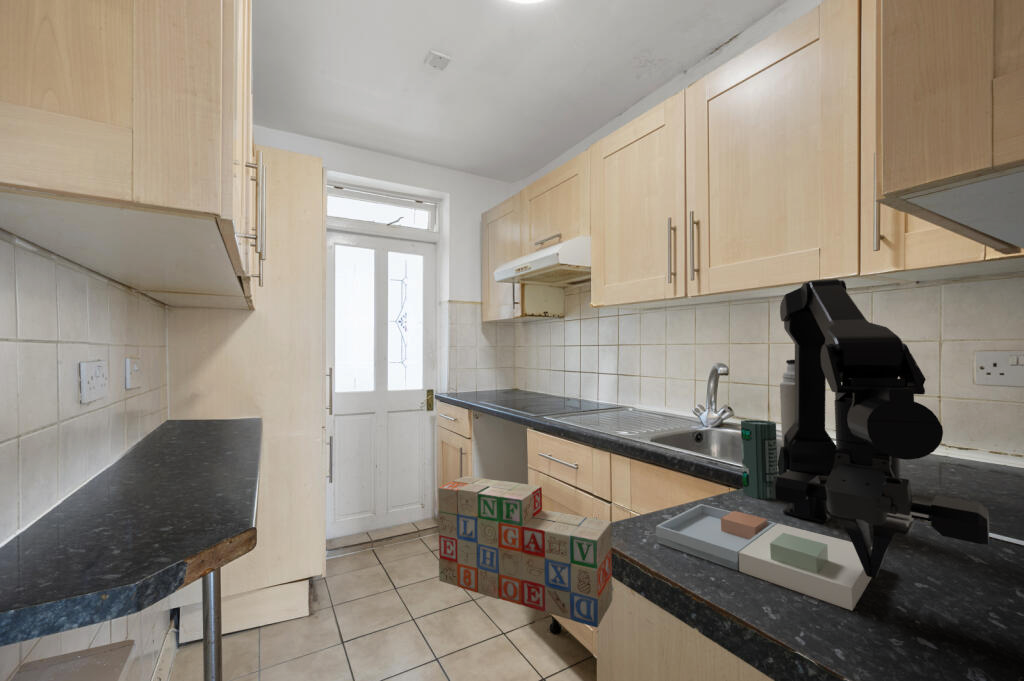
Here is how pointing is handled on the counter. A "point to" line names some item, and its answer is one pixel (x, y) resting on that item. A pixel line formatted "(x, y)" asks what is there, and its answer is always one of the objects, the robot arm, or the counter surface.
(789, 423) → the thermos bottle
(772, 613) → the counter surface
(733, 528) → the tile terracotta
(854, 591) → the board
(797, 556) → the tile sage
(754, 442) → the can
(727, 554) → the box
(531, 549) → the stack of blocks
